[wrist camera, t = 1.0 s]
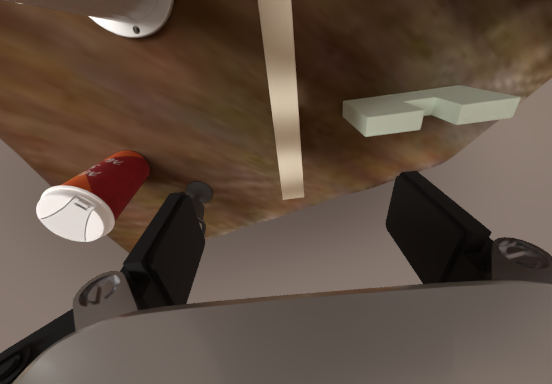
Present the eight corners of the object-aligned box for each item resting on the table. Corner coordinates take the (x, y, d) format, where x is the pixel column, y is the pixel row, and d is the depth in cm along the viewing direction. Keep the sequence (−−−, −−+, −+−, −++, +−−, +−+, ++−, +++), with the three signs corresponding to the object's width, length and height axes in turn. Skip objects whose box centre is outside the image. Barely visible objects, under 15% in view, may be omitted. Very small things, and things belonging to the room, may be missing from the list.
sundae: (223, 189, 43) (206, 247, 31) (206, 211, 46) (184, 273, 33) (191, 170, 41) (159, 225, 28) (175, 195, 44) (139, 255, 31)
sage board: (342, 100, 36) (367, 117, 27) (459, 85, 35) (521, 97, 27) (342, 116, 37) (365, 136, 28) (454, 101, 36) (512, 117, 28)
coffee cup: (120, 133, 37) (44, 178, 24) (165, 165, 40) (120, 219, 28) (97, 166, 40) (20, 222, 27) (141, 194, 43) (90, 254, 31)
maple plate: (260, 17, 30) (256, -8, 16) (278, 14, 29) (290, -13, 16) (276, 147, 39) (283, 199, 26) (290, 145, 39) (304, 197, 26)
